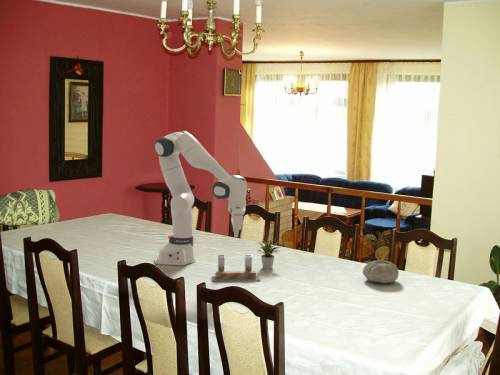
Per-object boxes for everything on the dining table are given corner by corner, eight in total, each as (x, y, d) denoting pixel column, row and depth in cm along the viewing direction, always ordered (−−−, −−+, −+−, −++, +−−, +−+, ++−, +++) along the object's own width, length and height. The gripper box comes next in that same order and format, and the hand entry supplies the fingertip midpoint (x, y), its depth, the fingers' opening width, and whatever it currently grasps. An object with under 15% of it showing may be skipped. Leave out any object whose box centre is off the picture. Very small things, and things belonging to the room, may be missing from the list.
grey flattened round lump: (391, 289, 292) (392, 269, 290) (357, 282, 301) (357, 263, 299) (402, 280, 307) (404, 261, 305) (369, 274, 316) (370, 255, 314)
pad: (212, 281, 297) (212, 280, 297) (211, 277, 304) (211, 276, 304) (260, 281, 300) (260, 279, 300) (258, 276, 307) (258, 275, 307)
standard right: (243, 276, 307) (244, 257, 306) (242, 272, 314) (243, 254, 312) (253, 276, 308) (253, 257, 306) (252, 272, 314) (252, 254, 313)
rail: (216, 279, 300) (216, 273, 299) (216, 277, 303) (216, 271, 302) (256, 278, 302) (256, 272, 301) (255, 276, 305) (255, 271, 304)
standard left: (216, 276, 306) (216, 257, 304) (215, 272, 312) (216, 254, 311) (226, 276, 306) (226, 257, 305) (225, 272, 313) (225, 254, 311)
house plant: (260, 272, 314) (261, 242, 312) (248, 265, 326) (249, 236, 324) (283, 269, 321) (284, 239, 318) (271, 263, 333) (272, 234, 331)
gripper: (229, 203, 311) (227, 229, 313) (232, 211, 291) (230, 239, 293) (241, 204, 311) (239, 230, 313) (245, 212, 291) (243, 239, 293)
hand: (235, 234), depth 303 cm, fingers open, 8 cm apart
